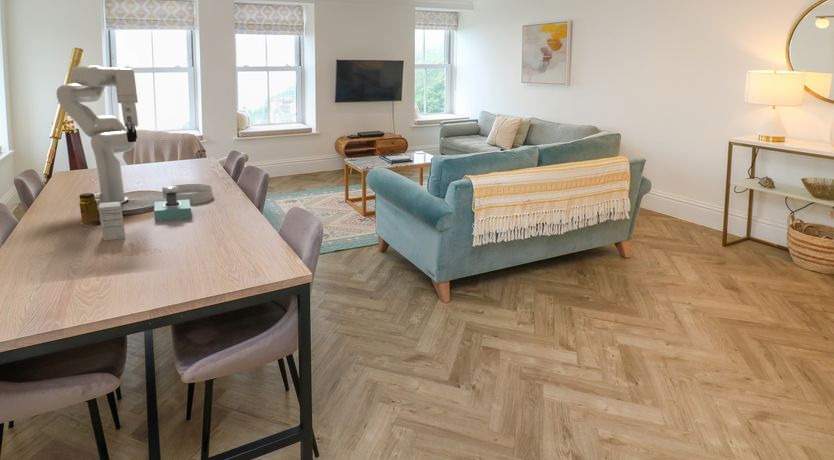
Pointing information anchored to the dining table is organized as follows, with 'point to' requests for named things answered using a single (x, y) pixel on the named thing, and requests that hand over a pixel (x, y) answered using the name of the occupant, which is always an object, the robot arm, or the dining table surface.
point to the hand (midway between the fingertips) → (132, 140)
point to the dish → (193, 193)
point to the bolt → (171, 195)
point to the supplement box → (111, 220)
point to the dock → (172, 211)
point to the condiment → (89, 210)
